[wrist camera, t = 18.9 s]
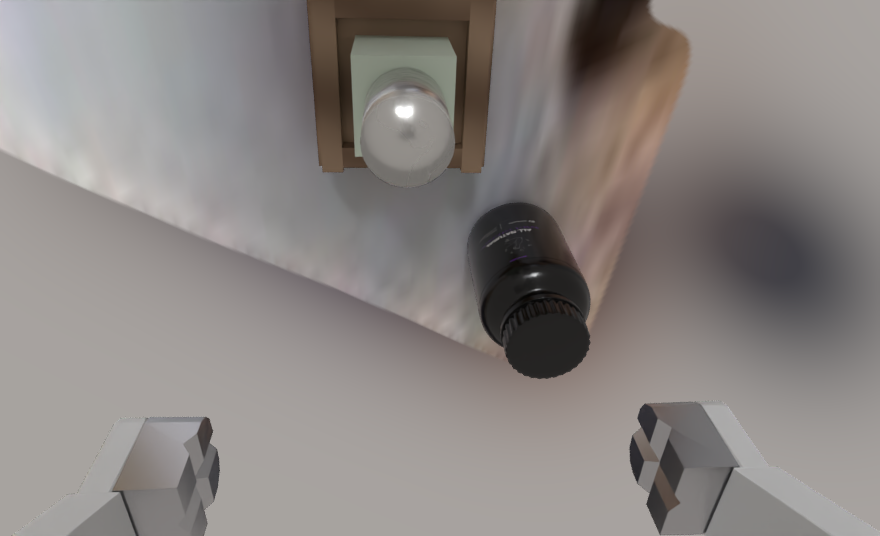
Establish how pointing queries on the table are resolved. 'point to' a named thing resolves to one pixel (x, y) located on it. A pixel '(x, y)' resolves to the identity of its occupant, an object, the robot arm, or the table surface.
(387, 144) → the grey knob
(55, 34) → the table surface
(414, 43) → the sage cube
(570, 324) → the supplement bottle
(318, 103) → the walnut base
